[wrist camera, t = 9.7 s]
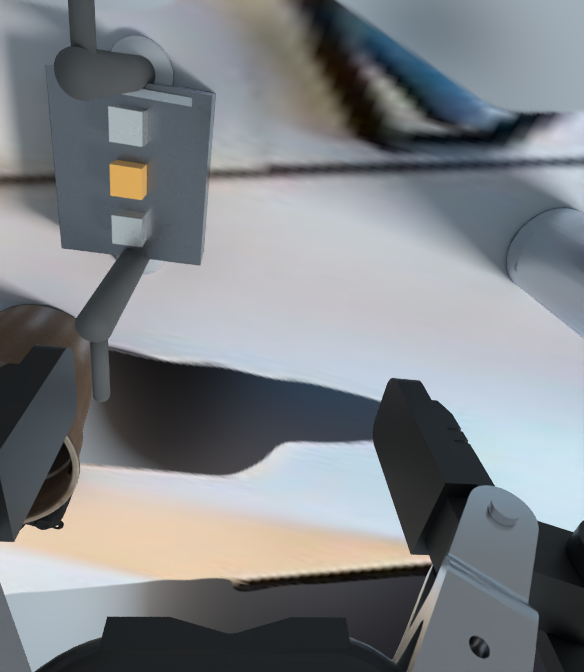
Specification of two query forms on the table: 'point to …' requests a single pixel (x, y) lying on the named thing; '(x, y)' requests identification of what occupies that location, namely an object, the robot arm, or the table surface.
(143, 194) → the orange matte cube
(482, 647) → the robot arm
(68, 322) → the plant pot
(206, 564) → the table surface
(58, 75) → the cable post
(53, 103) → the grey block holder
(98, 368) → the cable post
